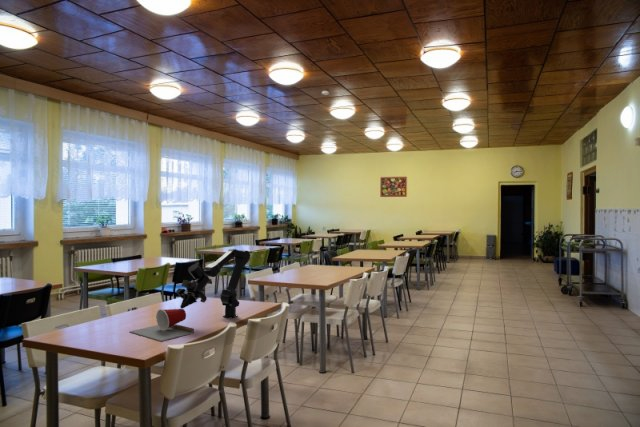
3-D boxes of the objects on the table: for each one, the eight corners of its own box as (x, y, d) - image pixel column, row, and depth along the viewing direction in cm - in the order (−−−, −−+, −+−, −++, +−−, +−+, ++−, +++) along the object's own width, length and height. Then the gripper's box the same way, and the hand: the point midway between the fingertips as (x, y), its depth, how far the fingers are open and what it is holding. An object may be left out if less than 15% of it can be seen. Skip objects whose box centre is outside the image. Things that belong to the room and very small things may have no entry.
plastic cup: (185, 329, 225) (163, 335, 217) (176, 315, 231) (154, 320, 222) (191, 314, 221) (168, 319, 212) (181, 299, 227) (159, 304, 218)
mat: (159, 325, 230) (159, 324, 230) (192, 333, 214) (192, 332, 214) (129, 332, 216) (129, 331, 216) (161, 341, 201) (161, 340, 201)
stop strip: (164, 325, 231) (164, 321, 231) (194, 332, 217) (194, 328, 217) (161, 325, 229) (161, 322, 229) (190, 333, 215) (190, 329, 215)
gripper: (180, 272, 235) (161, 295, 225) (203, 275, 224) (184, 299, 215) (191, 286, 241) (173, 309, 231) (214, 290, 230) (196, 314, 221)
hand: (181, 307), depth 224 cm, fingers closed, pressing on plastic cup
